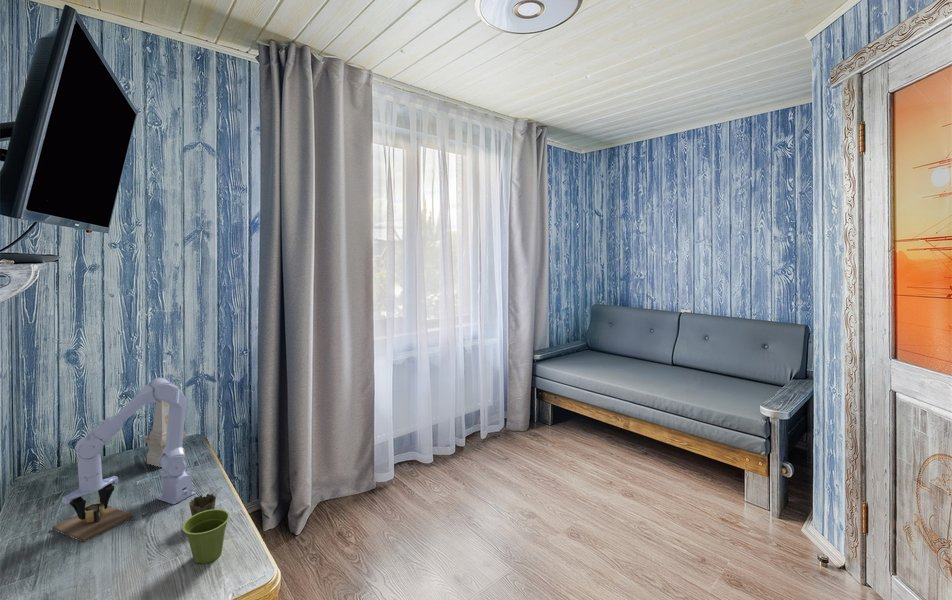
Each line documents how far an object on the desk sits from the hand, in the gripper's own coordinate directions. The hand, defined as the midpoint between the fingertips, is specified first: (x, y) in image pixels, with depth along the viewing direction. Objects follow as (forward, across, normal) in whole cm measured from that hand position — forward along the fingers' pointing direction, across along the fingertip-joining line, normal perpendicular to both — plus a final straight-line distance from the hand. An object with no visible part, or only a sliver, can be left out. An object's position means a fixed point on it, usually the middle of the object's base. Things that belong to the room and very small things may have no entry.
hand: (93, 513), depth 143 cm
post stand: (+3, 0, 0) cm, 3 cm away
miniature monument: (+4, -38, -21) cm, 44 cm away
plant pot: (+4, -3, +48) cm, 48 cm away
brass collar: (+1, 0, 0) cm, 1 cm away
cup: (+4, -14, +32) cm, 35 cm away
